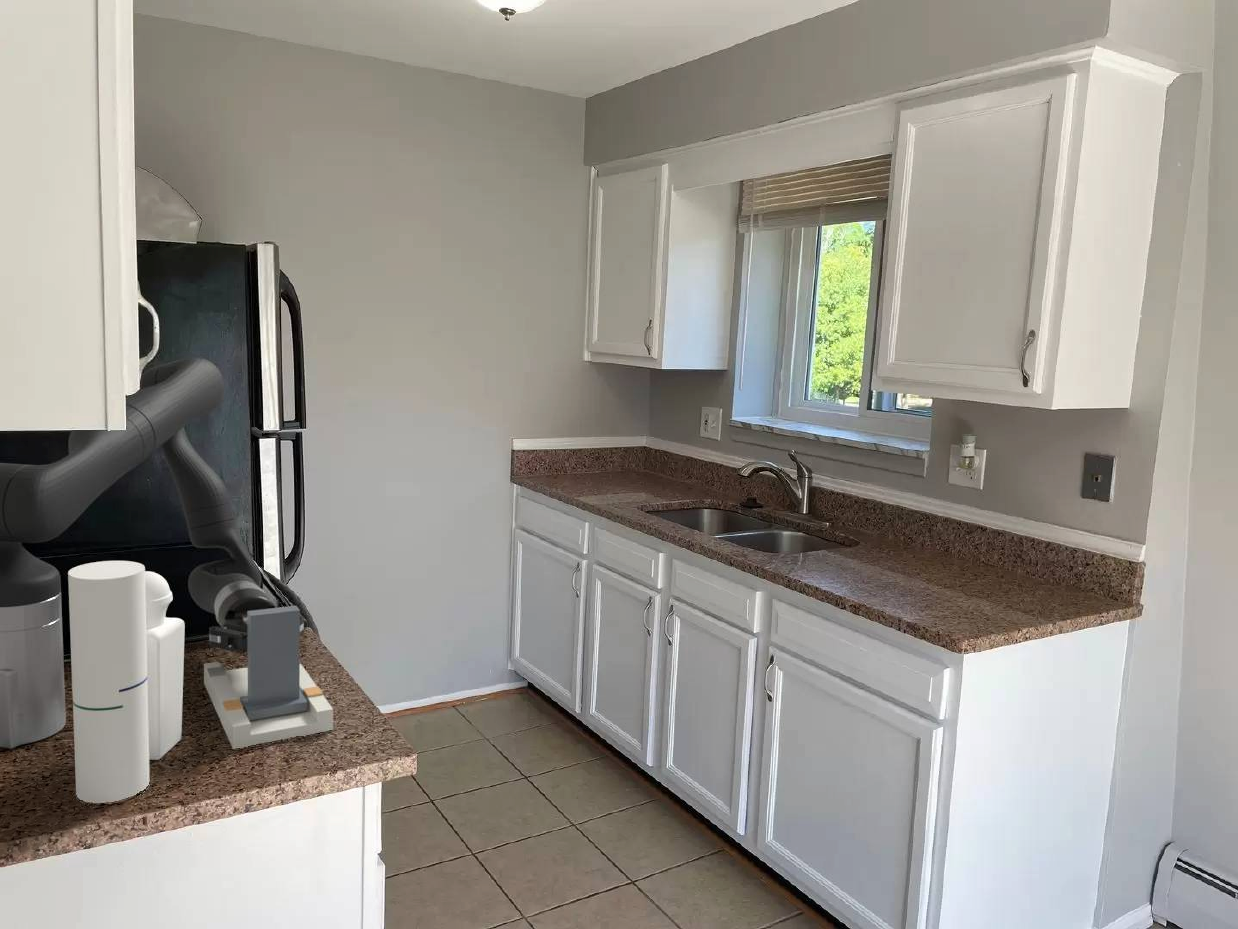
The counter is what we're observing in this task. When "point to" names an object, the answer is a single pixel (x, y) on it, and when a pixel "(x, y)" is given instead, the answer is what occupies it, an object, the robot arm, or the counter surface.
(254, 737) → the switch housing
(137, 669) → the cylindrical container
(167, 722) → the soap dispenser
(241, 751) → the counter surface
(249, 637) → the switch tab
